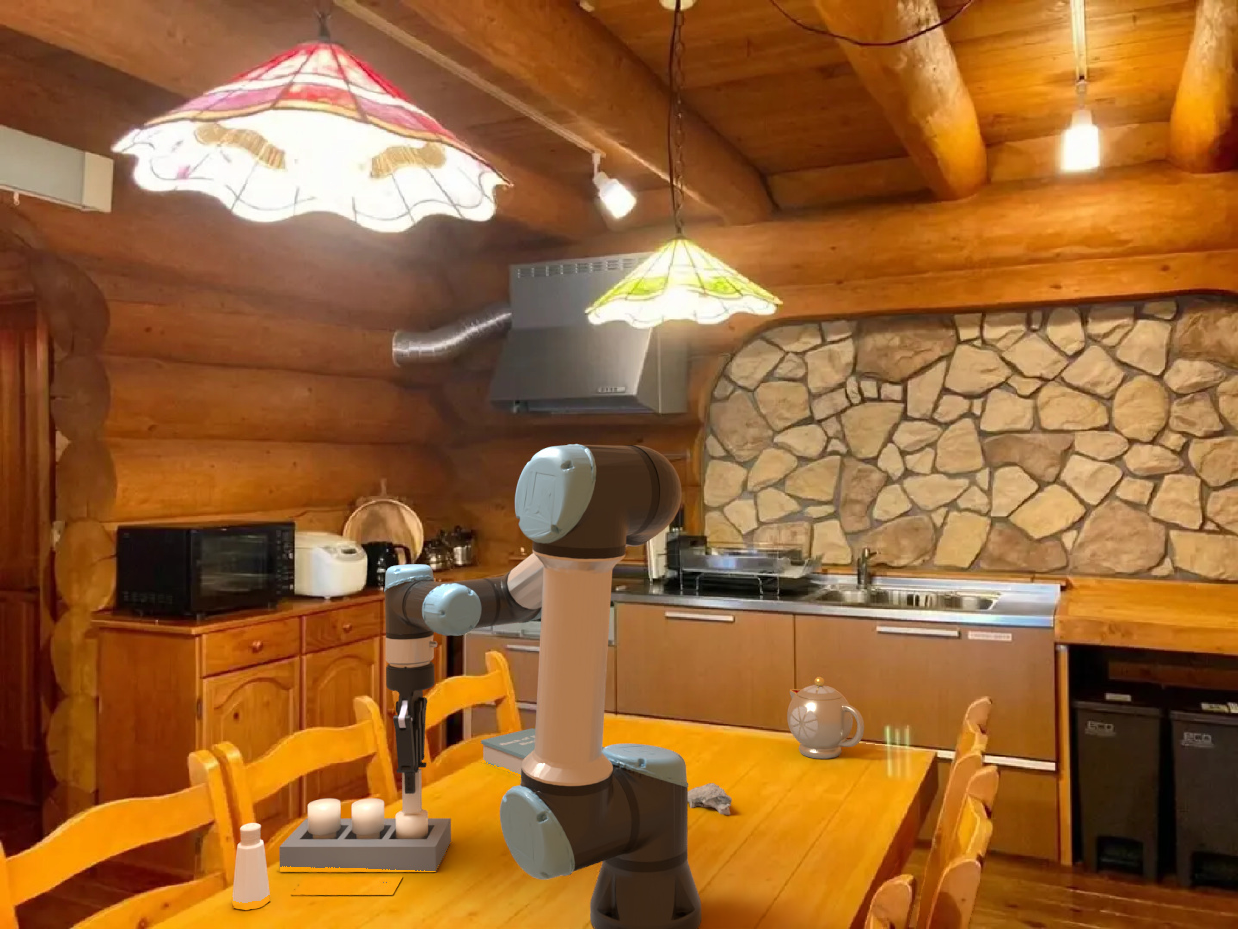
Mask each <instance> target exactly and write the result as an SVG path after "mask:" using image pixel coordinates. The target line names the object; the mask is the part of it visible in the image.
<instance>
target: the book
mask: <svg viewBox="0 0 1238 929" xmlns="http://www.w3.org/2000/svg"><path fill="white" fill-rule="evenodd" d="M535 730H536V726H535V727H534V728H528V729H523V730H519V731H514V732H511V733H507V734H502V735H501V734H500V735H497V736H494V737H489V738H486V739H481V740H480V744H482V746H483V750H482V752H483V754H482V755H483V756H482V757H483V760H485V761H486V763H487V762H488V764H491V765H493V766H494V765H496V766H497V767H504V768H506V769H509V770H510V771H512V772H515V773H518V774H520V775H521V769H522V761H523V760H524V758H525V757H526V756H528V755H529V754H530V753H531V752H532V751H533V750H534V749H535ZM605 747H606V746H605ZM605 747H604V746H602V751H603V749H604V748H605ZM488 764H487V765H488ZM491 765H490V766H491ZM493 766H492V767H493Z"/></svg>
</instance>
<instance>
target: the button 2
mask: <svg viewBox="0 0 1238 929" xmlns="http://www.w3.org/2000/svg"><path fill="white" fill-rule="evenodd" d="M395 818H396V839H427V838H428V818H429V813H428V811H427V810H426V809H423V808H422V810H421V812H420V813H403V810H400V811H398V812H397V813H396V814H395Z"/></svg>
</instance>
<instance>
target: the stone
mask: <svg viewBox="0 0 1238 929" xmlns="http://www.w3.org/2000/svg"><path fill="white" fill-rule="evenodd" d="M732 802H733V800H732V797H731V796H730V795H727V793H726V792H725V789H724V788H723V787H720V785H717V784H715V783H714V782H712V783H711V782H710V783H707V784H704V785H700V786H696V787H694V788H692V789H690V790H688V804H689V807H690V809H692V808H693V809H694V808H697V807H701V808H712V809H715V810H717V812H718V813H719V814H720V815H725V816H730V815H731V812H730V807H731V806H732Z"/></svg>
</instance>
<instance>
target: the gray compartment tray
mask: <svg viewBox="0 0 1238 929" xmlns="http://www.w3.org/2000/svg"><path fill="white" fill-rule="evenodd" d="M451 820H452V818H448V817H447V818H443V817H442V818H437V817H436V818H433V817H432V818H429V817H428V838H427V839H396V817H394V818H385V817H384V829H383V830H382V831H380V839H357V836H356V834H355V833H353V832H352V818H341V828H340V830H338V831H336V839H313V834H310V833H309V832H308V818H305V819H304V820H303V822H301V824H300V825H299V826H297V827H296V829H295V830H293V832H292V833H291V834H290V835H289V836H288V837H287V838H286V839H285V841H283V843H281V845H280V846H279V847H278V848H279V849H278V850H279V868H280V867H282V866H283V867H284V866H285V867H286V866H287V867H290V866H291V867H311V868H312V867H313V868H314V867H315V868H325V867H328V868H329V867H330V868H331V867H333V868H334V867H335V868H339V867H340V868H366V869H367V868H368V869H382V870H383V869H385V870H386V869H388V870H389V869H390V870H395V869H396V870H415V871H417V870H418V871H420V870H421V871H424V870H425V871H436V869H437V867H438V865H439V864H440V865H441V863H442V861H443V859H444V857H445V855H446V853H447V852H446V850H447V848H448V846H449V844H450V842H451V843H452V827H451V826H452V825H451V824H452V823H451V822H452V821H451ZM450 845H451V844H450ZM449 847H450V846H449ZM448 849H449V848H448ZM447 851H448V850H447ZM445 852H446V853H445ZM444 854H445V855H444ZM443 856H444V857H443ZM442 858H443V859H442ZM441 860H442V861H441ZM440 862H441V863H440ZM440 865H439V866H440ZM438 868H439V867H438ZM437 870H438V869H437ZM436 872H437V871H436Z"/></svg>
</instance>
